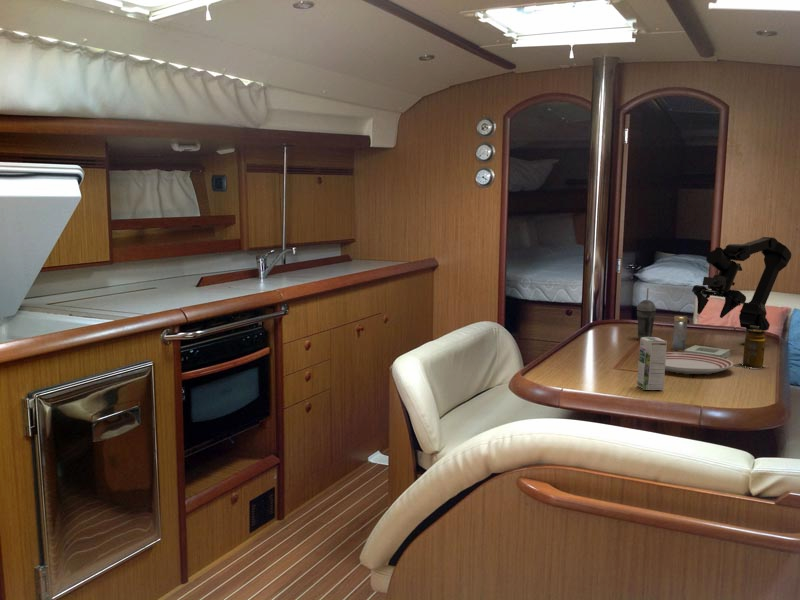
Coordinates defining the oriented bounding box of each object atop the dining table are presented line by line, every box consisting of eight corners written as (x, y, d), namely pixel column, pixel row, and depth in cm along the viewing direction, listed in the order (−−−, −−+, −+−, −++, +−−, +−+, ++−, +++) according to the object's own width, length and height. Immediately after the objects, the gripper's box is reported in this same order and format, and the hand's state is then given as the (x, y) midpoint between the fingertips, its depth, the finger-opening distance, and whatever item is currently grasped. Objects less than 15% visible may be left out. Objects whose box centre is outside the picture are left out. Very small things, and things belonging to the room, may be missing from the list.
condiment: (768, 367, 241) (771, 330, 239) (753, 370, 236) (756, 333, 234) (747, 362, 247) (750, 327, 245) (732, 365, 242) (735, 329, 240)
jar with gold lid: (674, 347, 270) (676, 315, 268) (686, 349, 267) (689, 316, 265) (670, 349, 266) (672, 316, 264) (682, 351, 263) (685, 318, 262)
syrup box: (636, 386, 212) (639, 336, 210) (655, 386, 213) (659, 336, 211) (644, 391, 207) (647, 340, 205) (664, 391, 207) (667, 340, 205)
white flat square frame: (694, 350, 265) (695, 345, 265) (729, 355, 257) (730, 349, 257) (683, 355, 256) (683, 350, 255) (719, 361, 248) (720, 355, 248)
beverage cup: (633, 341, 281) (636, 289, 279) (635, 337, 288) (638, 287, 285) (653, 342, 279) (657, 290, 276) (655, 339, 285) (658, 288, 283)
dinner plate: (623, 363, 244) (623, 353, 243) (686, 357, 255) (687, 347, 254) (685, 382, 219) (685, 371, 218) (752, 375, 230) (753, 364, 229)
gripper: (691, 264, 268) (675, 302, 267) (737, 268, 252) (720, 309, 251) (708, 277, 274) (692, 315, 272) (754, 283, 258) (737, 323, 256)
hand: (709, 315), depth 263 cm, fingers open, 9 cm apart
